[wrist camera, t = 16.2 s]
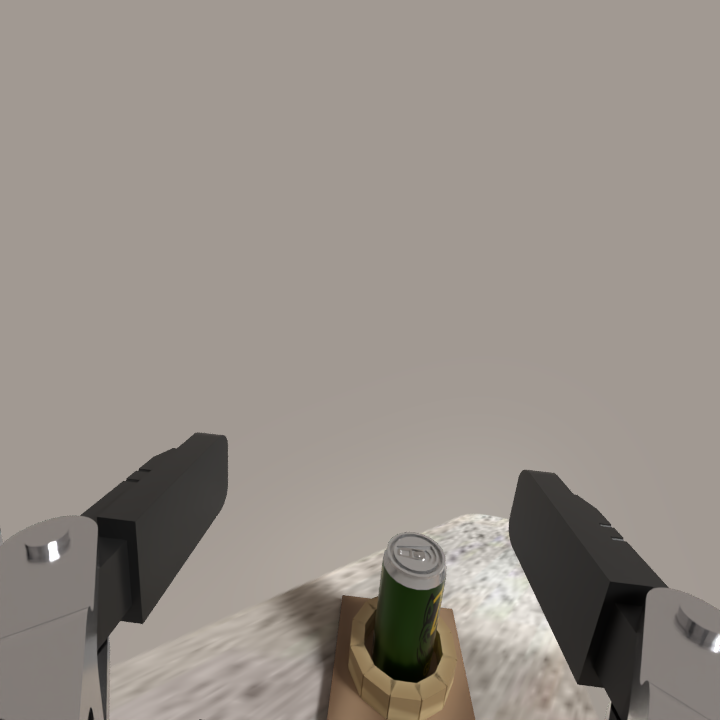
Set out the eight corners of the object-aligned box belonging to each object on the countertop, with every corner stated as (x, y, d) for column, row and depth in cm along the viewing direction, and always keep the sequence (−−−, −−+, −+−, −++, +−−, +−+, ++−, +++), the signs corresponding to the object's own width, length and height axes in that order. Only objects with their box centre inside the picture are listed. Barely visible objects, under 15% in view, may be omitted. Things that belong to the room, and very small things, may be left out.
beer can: (369, 689, 30) (383, 574, 28) (372, 629, 36) (384, 526, 33) (432, 699, 30) (453, 583, 27) (426, 637, 35) (443, 534, 32)
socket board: (324, 740, 28) (327, 707, 27) (341, 602, 39) (344, 576, 38) (480, 763, 27) (488, 730, 26) (450, 616, 39) (455, 590, 38)
